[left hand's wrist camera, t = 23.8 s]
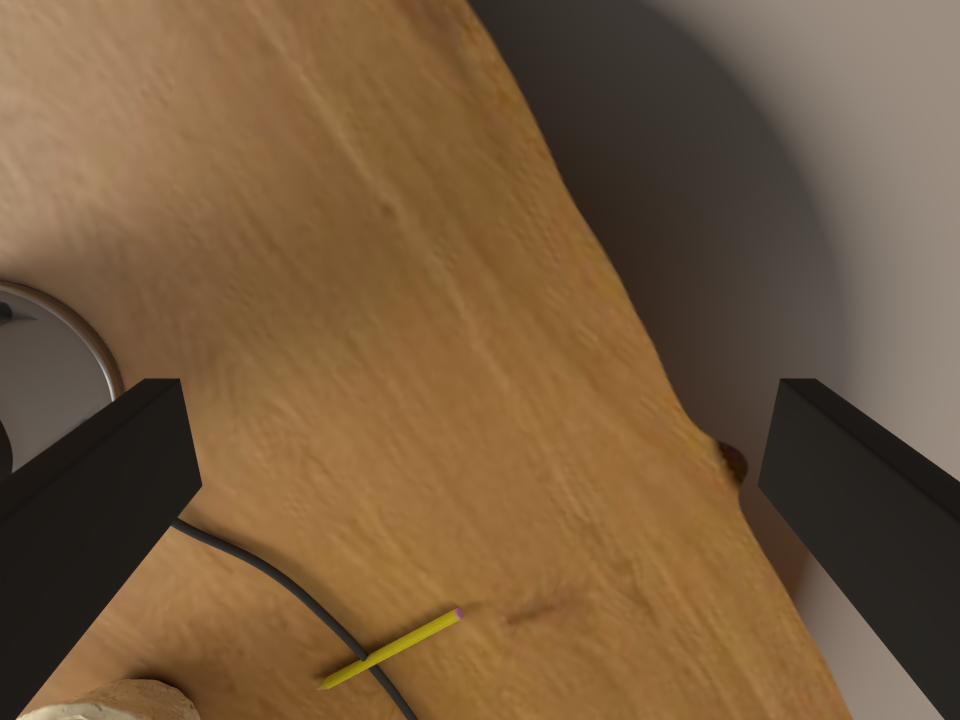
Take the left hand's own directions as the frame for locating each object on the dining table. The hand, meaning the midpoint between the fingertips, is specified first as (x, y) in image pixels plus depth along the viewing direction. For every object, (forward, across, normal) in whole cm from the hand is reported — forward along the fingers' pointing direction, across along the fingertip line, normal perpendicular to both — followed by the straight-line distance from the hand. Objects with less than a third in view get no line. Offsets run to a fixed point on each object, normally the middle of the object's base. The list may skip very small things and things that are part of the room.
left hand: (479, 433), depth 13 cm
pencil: (+27, +9, +37) cm, 47 cm away
